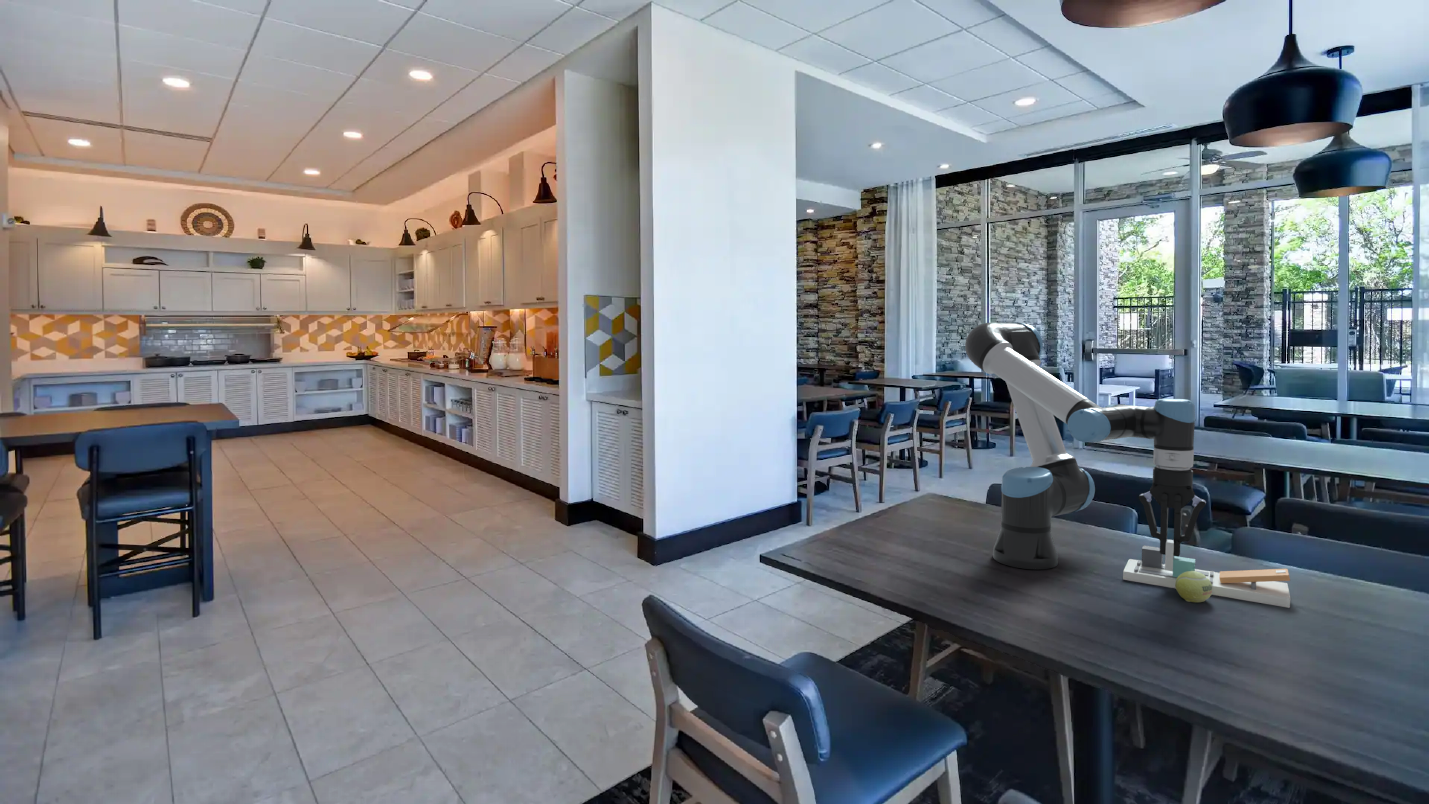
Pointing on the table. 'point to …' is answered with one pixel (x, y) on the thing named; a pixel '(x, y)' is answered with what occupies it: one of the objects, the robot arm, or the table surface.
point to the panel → (1213, 584)
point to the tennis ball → (1193, 586)
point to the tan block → (1254, 575)
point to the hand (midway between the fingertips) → (1169, 568)
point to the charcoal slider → (1151, 556)
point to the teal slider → (1182, 565)
